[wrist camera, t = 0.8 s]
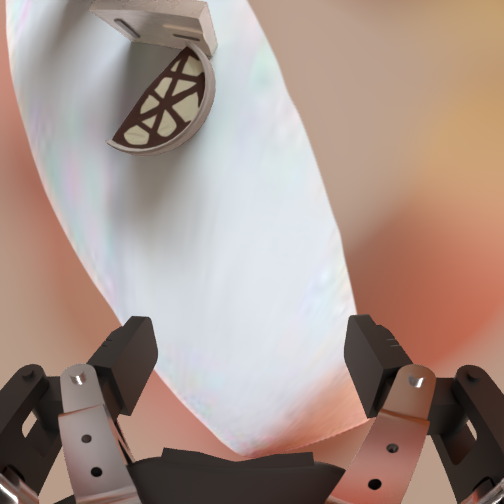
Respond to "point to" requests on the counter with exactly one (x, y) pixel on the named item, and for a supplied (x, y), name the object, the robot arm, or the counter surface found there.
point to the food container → (170, 106)
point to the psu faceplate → (160, 22)
